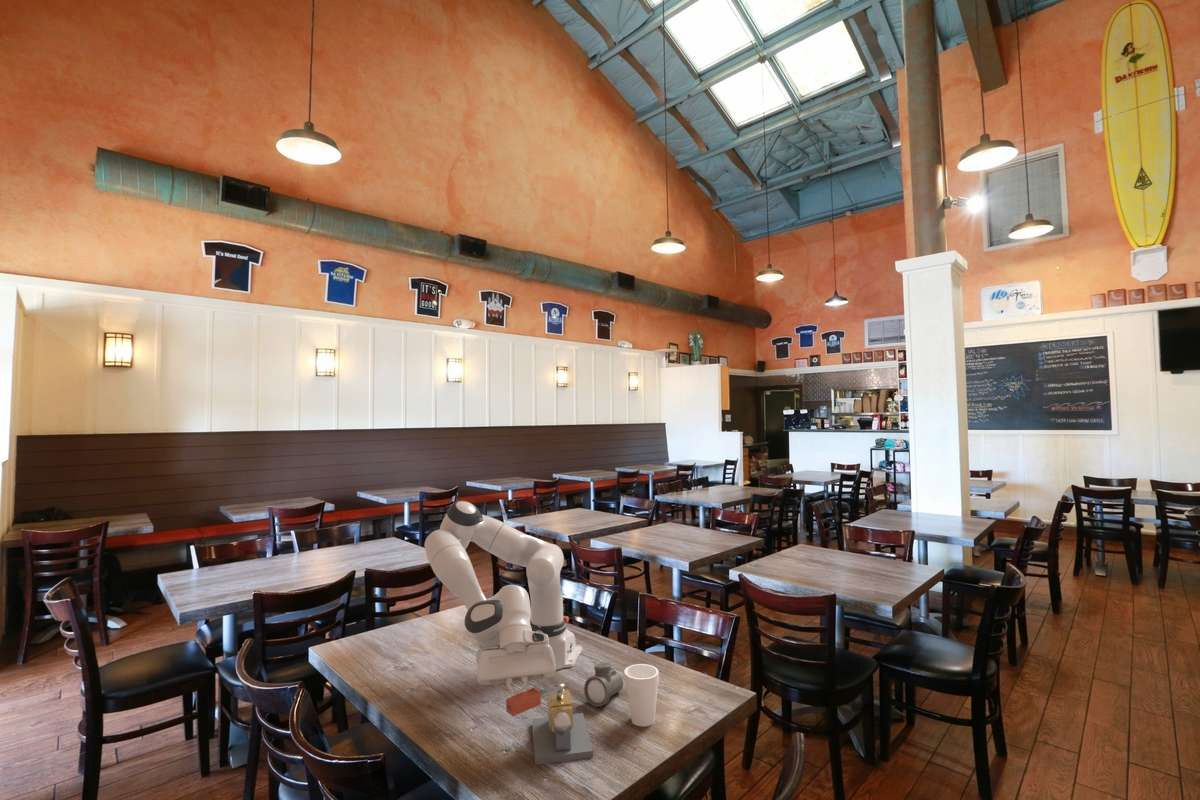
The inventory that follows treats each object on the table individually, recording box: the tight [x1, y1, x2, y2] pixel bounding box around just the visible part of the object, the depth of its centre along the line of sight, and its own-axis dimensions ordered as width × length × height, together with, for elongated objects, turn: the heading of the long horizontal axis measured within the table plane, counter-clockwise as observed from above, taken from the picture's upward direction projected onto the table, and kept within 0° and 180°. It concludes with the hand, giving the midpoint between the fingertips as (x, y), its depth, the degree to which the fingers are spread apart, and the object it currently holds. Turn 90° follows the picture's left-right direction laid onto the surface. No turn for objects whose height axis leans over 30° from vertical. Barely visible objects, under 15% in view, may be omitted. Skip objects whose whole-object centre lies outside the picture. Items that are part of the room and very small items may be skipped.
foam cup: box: [623, 663, 660, 728], centre depth 148 cm, size 10×9×13 cm
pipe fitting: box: [583, 662, 624, 708], centre depth 160 cm, size 12×8×10 cm
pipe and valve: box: [547, 689, 574, 752], centre depth 139 cm, size 6×16×11 cm, turn 9°
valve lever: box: [505, 681, 566, 717], centre depth 135 cm, size 16×3×3 cm, turn 131°
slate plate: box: [531, 712, 594, 766], centre depth 139 cm, size 14×18×2 cm
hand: (517, 698), depth 135 cm, fingers closed
